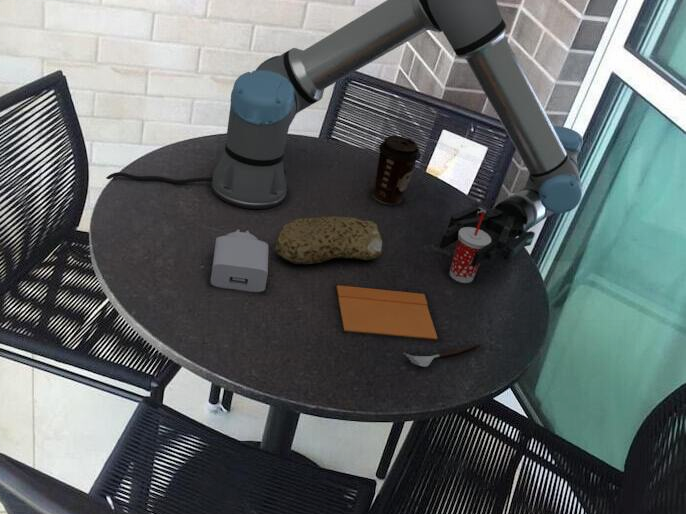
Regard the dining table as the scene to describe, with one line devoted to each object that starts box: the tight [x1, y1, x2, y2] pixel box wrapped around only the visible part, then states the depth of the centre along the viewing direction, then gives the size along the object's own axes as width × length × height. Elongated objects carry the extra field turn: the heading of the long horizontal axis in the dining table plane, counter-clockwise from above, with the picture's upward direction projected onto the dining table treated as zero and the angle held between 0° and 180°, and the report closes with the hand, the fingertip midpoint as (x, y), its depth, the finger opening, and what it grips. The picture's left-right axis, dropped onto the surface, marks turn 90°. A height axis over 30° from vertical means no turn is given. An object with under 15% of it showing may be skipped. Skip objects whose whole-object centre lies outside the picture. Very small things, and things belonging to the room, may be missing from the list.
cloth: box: [336, 284, 438, 340], centre depth 139 cm, size 16×12×1 cm
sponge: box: [274, 215, 383, 265], centre depth 149 cm, size 13×8×20 cm
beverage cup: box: [448, 212, 492, 284], centre depth 149 cm, size 6×6×14 cm
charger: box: [210, 229, 270, 293], centre depth 142 cm, size 5×9×15 cm
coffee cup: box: [371, 135, 422, 206], centre depth 170 cm, size 9×8×13 cm
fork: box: [402, 343, 482, 368], centre depth 132 cm, size 3×16×2 cm, turn 120°
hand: (458, 250), depth 146 cm, fingers closed on beverage cup, 6 cm apart
